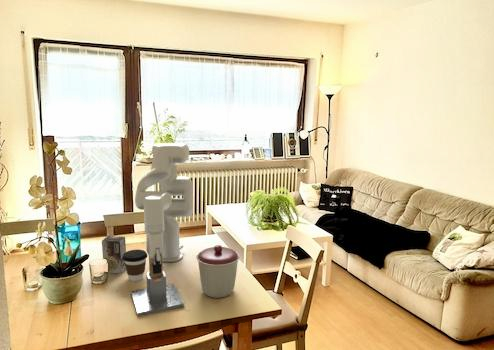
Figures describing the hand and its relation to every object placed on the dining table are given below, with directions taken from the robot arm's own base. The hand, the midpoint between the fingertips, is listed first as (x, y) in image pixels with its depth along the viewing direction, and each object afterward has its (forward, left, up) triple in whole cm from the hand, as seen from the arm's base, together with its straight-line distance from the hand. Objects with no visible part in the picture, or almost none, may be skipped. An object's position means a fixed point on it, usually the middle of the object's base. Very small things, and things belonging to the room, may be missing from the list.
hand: (155, 270), depth 154 cm
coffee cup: (-13, -20, -14) cm, 27 cm away
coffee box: (-16, -34, -14) cm, 40 cm away
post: (0, 0, -11) cm, 11 cm away
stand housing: (0, 0, -13) cm, 13 cm away
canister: (-16, +20, -14) cm, 29 cm away
